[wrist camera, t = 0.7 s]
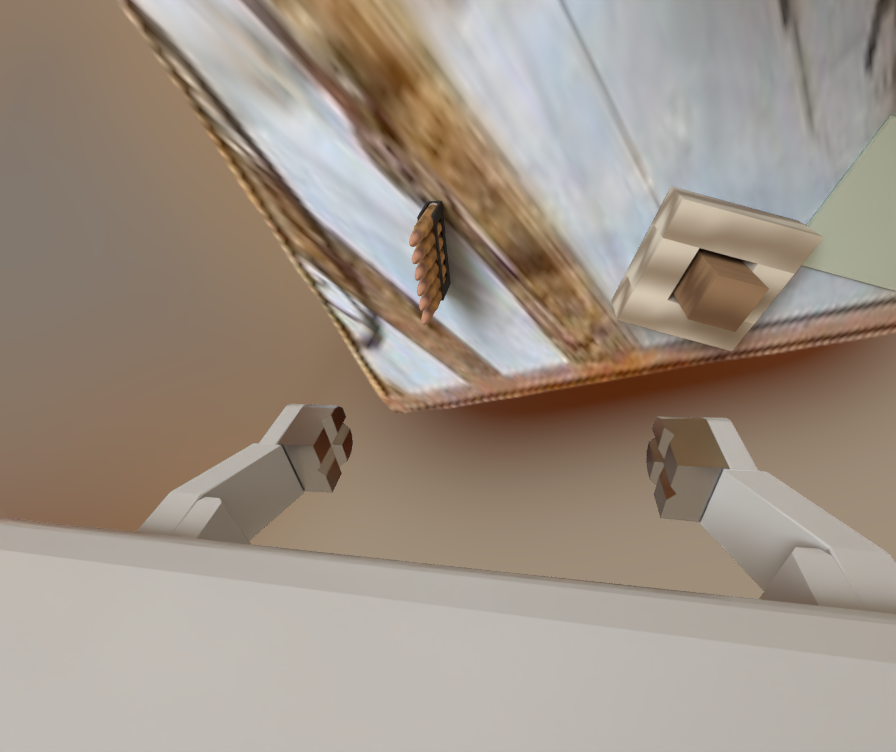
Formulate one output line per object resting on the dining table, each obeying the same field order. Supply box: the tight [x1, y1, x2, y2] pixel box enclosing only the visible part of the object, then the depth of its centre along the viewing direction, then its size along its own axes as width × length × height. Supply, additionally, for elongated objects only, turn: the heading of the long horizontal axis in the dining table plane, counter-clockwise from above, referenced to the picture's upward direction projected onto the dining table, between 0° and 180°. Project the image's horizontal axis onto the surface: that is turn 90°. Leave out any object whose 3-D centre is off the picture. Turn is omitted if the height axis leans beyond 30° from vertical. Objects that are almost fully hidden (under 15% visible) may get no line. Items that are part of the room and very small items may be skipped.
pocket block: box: [612, 187, 824, 351], centre depth 46 cm, size 14×14×5 cm
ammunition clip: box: [409, 201, 450, 325], centre depth 48 cm, size 11×2×12 cm, turn 6°
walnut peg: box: [673, 248, 769, 332], centre depth 44 cm, size 5×5×10 cm
